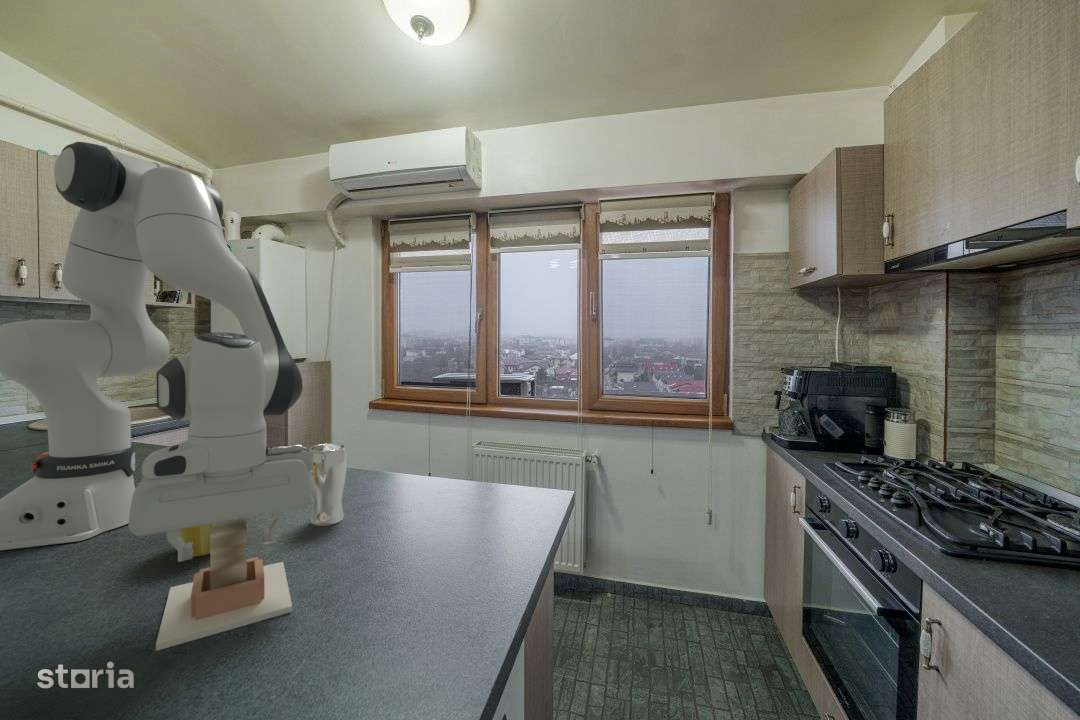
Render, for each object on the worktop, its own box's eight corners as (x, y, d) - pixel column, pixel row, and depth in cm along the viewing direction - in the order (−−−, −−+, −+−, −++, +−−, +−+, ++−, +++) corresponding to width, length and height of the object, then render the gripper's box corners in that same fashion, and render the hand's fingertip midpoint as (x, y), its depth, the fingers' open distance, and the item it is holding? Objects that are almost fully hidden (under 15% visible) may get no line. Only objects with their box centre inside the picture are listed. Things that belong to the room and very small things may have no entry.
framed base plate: (155, 650, 52) (155, 619, 51) (170, 592, 63) (170, 566, 63) (292, 611, 60) (292, 584, 59) (283, 566, 71) (283, 543, 71)
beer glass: (331, 529, 85) (331, 452, 85) (299, 525, 87) (300, 449, 86) (353, 515, 92) (353, 444, 91) (323, 511, 93) (324, 441, 93)
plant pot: (198, 534, 82) (197, 482, 81) (252, 536, 81) (252, 484, 81) (146, 562, 71) (145, 502, 71) (208, 564, 71) (208, 505, 71)
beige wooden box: (210, 608, 59) (210, 534, 58) (212, 593, 62) (211, 524, 61) (246, 599, 61) (246, 528, 60) (246, 585, 64) (246, 518, 64)
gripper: (310, 438, 69) (309, 525, 70) (134, 455, 57) (136, 559, 58) (316, 447, 64) (315, 541, 64) (124, 467, 52) (126, 581, 53)
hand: (229, 550), depth 61 cm, fingers open, 8 cm apart
